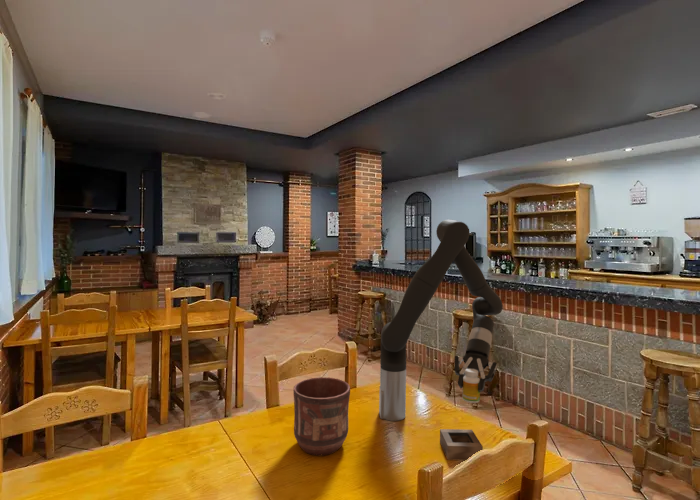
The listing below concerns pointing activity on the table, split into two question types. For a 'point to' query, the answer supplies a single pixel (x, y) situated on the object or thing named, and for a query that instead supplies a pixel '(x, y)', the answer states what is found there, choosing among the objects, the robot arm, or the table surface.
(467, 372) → the supplement bottle
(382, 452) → the table surface
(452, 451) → the collar block
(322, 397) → the pottery
